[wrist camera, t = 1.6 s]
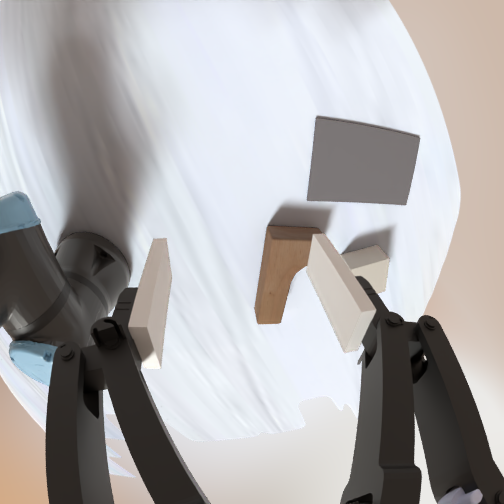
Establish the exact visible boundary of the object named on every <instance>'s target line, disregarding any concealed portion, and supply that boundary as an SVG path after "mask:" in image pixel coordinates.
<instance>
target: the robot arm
mask: <svg viewBox="0 0 504 504" xmlns="http://www.w3.org/2000/svg"><path fill="white" fill-rule="evenodd" d="M40 223H41V221H40V219H39V218H38V217H37V215H36V213H35V211H34V209H33V206H32V204H31V202H30V200H29V198H28V196H27V195H26V194H25V193H23V192H19V191H16V192H12V193H9V194H7V195H4V196H2V197H0V328H1V327H2V326H3V327H4V329H5V330H6V331H7V333H8V334H9V335H10V337H11V338H12V340H13V341H12V342H11V343H10V345H9V347H10V349H9V355H10V358H11V360H12V362H13V363H14V364H15V365H16V366H17V367H18V368H19V369H20V370H21V371H22V372H23V373H25V374H26V375H28V376H29V377H31V378H32V379H34V380H36V381H38V382H40V383H42V384H45V385H47V386H49V393H48V403H47V417H46V476H47V488H48V497H49V504H114V500H113V495H112V489H111V483H110V477H109V470H108V462H107V454H106V444H105V432H104V415H103V390H105V389H108V391H109V395H110V398H111V401H112V404H113V407H114V411H115V414H116V416H117V419H118V422H119V425H120V428H121V430H122V433H123V436H124V438H125V441H126V443H127V446H128V448H129V451H130V453H131V456H132V458H133V460H134V462H135V465H136V467H137V469H138V471H139V473H140V475H141V477H142V479H143V482H144V484H145V486H146V488H147V490H148V491H149V493H150V495H151V497H152V499H153V501H154V503H155V504H211V503H210V502H209V500H208V499H207V497H206V496H205V494H204V493H203V491H202V490H201V488H200V487H199V485H198V484H197V482H196V481H195V479H194V477H193V476H192V474H191V472H190V471H189V469H188V467H187V465H186V464H185V462H184V460H183V458H182V457H181V455H180V453H179V451H178V449H177V448H176V446H175V444H174V442H173V440H172V438H171V436H170V434H169V432H168V430H167V428H166V426H165V424H164V422H163V420H162V418H161V416H160V414H159V412H158V409H157V407H156V405H155V403H154V401H153V398H152V396H151V394H150V391H149V389H148V387H147V384H146V382H145V379H144V377H143V374H142V372H141V363H143V366H144V368H154V369H161V363H162V353H163V343H164V334H165V325H166V317H167V309H168V302H169V295H170V288H171V282H172V274H171V267H170V260H169V253H168V245H167V238H160V239H153V242H152V245H151V248H150V251H149V254H148V257H147V260H146V263H145V267H144V270H143V273H142V277H141V280H140V283H139V287H138V288H128V285H129V281H130V272H129V267H128V264H127V262H126V260H125V258H124V256H123V255H122V253H121V252H120V251H119V250H118V249H117V247H115V246H114V245H113V244H112V243H111V242H110V241H108V240H107V239H105V238H103V237H101V236H99V235H96V234H93V233H88V232H79V233H74V234H71V235H69V236H68V237H66V238H65V239H64V240H63V241H62V242H61V243H60V245H59V246H58V247H57V249H56V251H55V253H54V252H53V250H52V248H51V246H50V244H49V242H48V240H47V238H46V236H45V233H44V231H43V229H42V226H41V224H40ZM306 272H307V275H308V277H309V279H310V281H311V283H312V285H313V287H314V289H315V291H316V293H317V295H318V297H319V300H320V302H321V304H322V306H323V308H324V310H325V312H326V314H327V317H328V319H329V321H330V323H331V325H332V327H333V330H334V332H335V334H336V336H337V338H338V341H339V343H340V345H341V347H342V350H343V352H344V353H347V352H352V351H357V350H358V349H359V347H360V345H361V343H362V344H363V346H364V348H365V349H364V351H363V353H362V355H361V357H360V359H359V360H358V364H360V363H361V361H362V375H361V392H360V405H359V416H358V426H357V434H356V442H355V450H354V456H353V463H352V469H351V474H350V479H349V482H348V484H347V486H346V487H345V489H344V491H343V494H342V498H341V502H340V504H419V501H420V492H421V480H422V475H421V470H420V468H418V467H417V466H415V464H414V445H415V430H414V429H415V426H414V425H415V424H414V423H415V421H414V412H415V416H416V420H417V424H418V428H419V431H420V436H421V440H422V445H423V449H424V453H425V459H426V464H427V468H428V474H429V480H430V484H431V489H432V492H433V494H434V498H435V500H436V502H437V504H504V477H503V476H502V474H501V472H500V471H499V469H498V467H497V465H496V464H495V462H494V460H493V458H492V454H491V451H490V447H489V443H488V440H487V436H486V433H485V430H484V427H483V424H482V420H481V418H480V415H479V412H478V409H477V406H476V403H475V401H474V398H473V395H472V393H471V390H470V388H469V385H468V383H467V381H466V378H465V376H464V373H463V372H462V369H461V367H460V364H459V362H458V360H457V358H456V356H455V353H454V351H453V349H452V347H451V345H450V343H449V341H448V339H447V337H446V335H445V333H444V331H443V329H442V327H441V325H440V324H439V322H438V321H437V320H436V319H435V318H433V317H431V316H428V315H424V316H421V317H420V318H419V320H418V322H417V323H416V322H405V321H404V319H403V318H402V317H401V316H400V315H398V314H397V313H394V312H389V310H388V309H387V307H386V306H385V304H384V303H383V301H382V300H381V299H380V297H379V296H378V294H377V293H376V291H375V290H374V289H373V287H372V286H371V284H370V283H369V281H367V280H366V279H365V278H364V277H362V276H354V275H353V273H352V272H351V270H350V269H349V267H348V266H347V264H346V263H345V262H344V260H343V259H342V257H341V256H340V254H339V253H338V252H337V250H336V249H335V247H334V246H333V244H332V243H331V242H330V240H329V239H328V238H327V236H326V235H325V234H313V237H312V243H311V248H310V254H309V259H308V265H307V270H306ZM114 307H115V310H114V312H113V315H112V317H107V316H108V314H109V313H110V311H111V310H112V309H113V308H114ZM424 355H425V356H426V359H427V360H425V359H424Z"/></svg>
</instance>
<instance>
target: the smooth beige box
mask: <svg viewBox="0 0 504 504" xmlns="http://www.w3.org/2000/svg"><path fill="white" fill-rule="evenodd" d="M340 256H341V257H342V259H343V260H344V262H345V263H346V264H347V266H348V267H349V269H350V270H351V272H352V273H353V275H354V276H362V277H364V278H365V279H366V280H367V281H369V283H370V284H371V286H372V287H373V289H374V290H375V291H376V293H377V294H378V293H381V292H384V291H385V288H386V282H387V275H388V267H389V259H390V258H389V257H388V256H387V255H386V254H385V253H384V252H383V251H382V249H381V248H380V247H379V246H378V245H375V246H371V247H367V248H364V249H360V250H356V251H352V252H349V253H345V254H341V255H340Z"/></svg>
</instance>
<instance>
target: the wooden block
mask: <svg viewBox="0 0 504 504" xmlns="http://www.w3.org/2000/svg"><path fill="white" fill-rule="evenodd" d="M313 234H322V232H321V231H320V229H318V228H307V227H287V226H268V227H267V230H266V237H265V243H264V250H263V256H262V263H261V269H260V276H259V282H258V288H257V295H256V301H255V307H254V309H255V314H256V319H257V323H258V324H279V323H281V319H282V316H283V312H284V308H285V304H286V300H287V296H288V292H289V287H290V283H291V281H292V279H293V277H294V276H295V274H296V273H297V272H298V271H300V270H301V269H302V268H304V267H305V266H307V265H308V259H309V254H310V248H311V243H312V237H313Z"/></svg>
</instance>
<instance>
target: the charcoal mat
mask: <svg viewBox="0 0 504 504" xmlns="http://www.w3.org/2000/svg"><path fill="white" fill-rule="evenodd" d="M419 142H420V138H419V137H415V136H411V135H407V134H403V133H399V132H395V131H390V130H386V129H381V128H376V127H371V126H366V125H360V124H355V123H348V122H342V121H335V120H328V119H320V118H316V121H315V131H314V142H313V151H312V160H311V169H310V178H309V186H308V194H307V201H333V202H359V203H379V204H395V205H406V203H407V199H408V195H409V191H410V187H411V182H412V178H413V173H414V169H415V164H416V159H417V153H418V148H419Z"/></svg>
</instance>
